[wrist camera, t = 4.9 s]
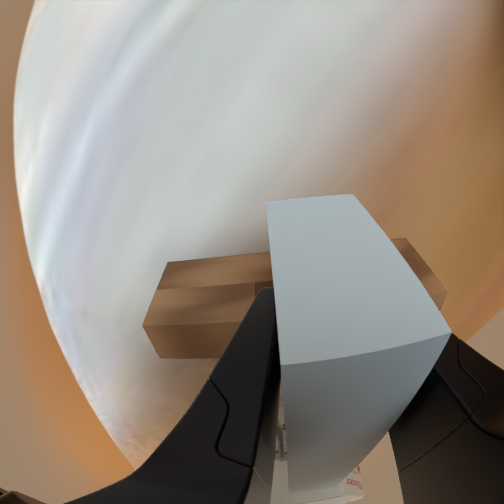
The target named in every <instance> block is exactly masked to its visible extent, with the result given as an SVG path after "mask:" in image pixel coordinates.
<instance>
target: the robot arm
mask: <svg viewBox="0 0 504 504" xmlns="http://www.w3.org/2000/svg"><path fill="white" fill-rule="evenodd" d="M209 379H210V380H209ZM209 379H208V380H207V381H206V383H205V384H204V386H203V388H202V389H201V391H200V393H199V394H198V396H197V397H196V399H195V400H194V402H193V403H192V405H191V406H190V408H189V409H188V410H187V412H186V413H185V414H184V416H183V417H182V418H181V420H180V421H179V422H178V423H177V425H176V426H175V427H174V428H173V430H172V431H171V432H170V433H169V434H168V436H167V437H166V438H165V439H164V440H163V442H162V443H161V444H160V445H159V446H158V447H157V449H156V450H155V451H154V452H153V453H152V454H151V456H150V457H149V458H148V459H147V460H146V461H145V462H144V463H143V464H142V465H141V466H140V467H139V468H138V469H137V470H136V471H135V472H133V473H132V474H131V475H129V476H127V477H126V478H124V479H122V480H120V481H118V482H116V483H114V484H112V485H109V486H107V487H105V488H103V489H100V490H98V491H95V492H93V493H91V494H88V495H86V496H83V497H80V498H78V499H75V500H73V501H70V502H67V503H64V504H270V499H271V496H270V495H271V490H272V481H273V471H274V461H275V450H276V438H277V426H278V413H279V399H280V384H281V365H280V353H279V341H278V329H277V318H276V307H275V296H274V287H264V288H261V289H260V290H259V291H258V293H257V295H256V297H255V298H254V300H253V302H252V304H251V305H250V307H249V309H248V311H247V312H246V314H245V316H244V318H243V319H242V321H241V323H240V325H239V326H238V328H237V330H236V332H235V333H234V335H233V337H232V339H231V340H230V342H229V344H228V346H227V347H226V349H225V351H224V352H223V354H222V356H221V357H220V359H219V361H218V363H217V364H216V366H215V368H214V369H213V371H212V373H211V374H210V376H209ZM389 435H390V439H391V443H392V447H393V451H394V455H395V460H396V465H397V469H398V474H399V480H400V485H401V490H402V495H403V500H404V504H504V370H503V369H501V368H500V367H498V366H497V365H495V364H494V363H492V362H491V361H489V360H488V359H486V358H485V357H483V356H482V355H481V354H479V353H478V352H476V351H475V350H474V349H473V348H471V347H470V346H469V345H467V344H466V343H465V342H463V341H462V340H461V339H459V340H458V337H457V336H456V335H454V334H453V333H451V335H450V337H449V339H448V341H447V343H446V345H445V347H444V348H443V350H442V352H441V354H440V356H439V357H438V359H437V361H436V363H435V364H434V366H433V368H432V369H431V371H430V373H429V374H428V376H427V377H426V379H425V381H424V382H423V384H422V385H421V387H420V388H419V390H418V391H417V393H416V394H415V396H414V397H413V399H412V400H411V401H410V403H409V404H408V406H407V407H406V408H405V410H404V411H403V413H402V414H401V415H400V417H399V418H398V419H397V420H396V422H395V423H394V424H393V426H392V427H391V428H390V429H389ZM0 504H46V503H43V502H41V501H38V500H36V499H34V498H31V497H29V496H27V495H24V494H22V493H19V492H16V491H10V492H8V491H6V490H4V489H2V488H0Z"/></svg>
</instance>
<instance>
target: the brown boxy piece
mask: <svg viewBox="0 0 504 504" xmlns="http://www.w3.org/2000/svg"><path fill="white" fill-rule="evenodd" d="M390 241H391V242H392V243H393V244H394V246H395V247H396V248H397V250H398V251H399V252H400V254H401V255H402V256H403V258H404V259H405V261H406V262H407V263H408V265H409V266H410V268H411V269H412V270H413V272H414V273H415V275H416V276H417V278H418V279H419V280H420V282H421V283H422V285H423V286H424V288H425V289H426V291H427V292H428V294H429V295H430V297H431V298H432V300H433V302H434V303H435V305H436V306H437V308H438V310H439V311H440V309H441V307H442V304H443V302H444V299H445V296H446V294H447V290H446V289H445V288H444V286H443V285H442V284H441V282H440V281H439V280H438V278H437V277H436V276H435V274H434V273H433V272H432V270H431V269H430V268H429V267H428V265H427V264H426V263H425V261H424V260H423V259H422V258H421V256H420V255H419V254H418V253H417V252H416V250H415V249H414V248H413V247H412V246H411V244H410V243H409V242H408V241H407V240H406V238H403V239H394V240H390ZM264 287H274V285H273V275H272V264H271V254H270V252H266V253H256V254H246V255H237V256H227V257H217V258H207V259H197V260H186V261H176V262H168V263H167V265H166V268H165V270H164V272H163V275H162V277H161V280H160V282H159V284H158V287H157V289H156V292H155V294H154V297H153V299H152V302H151V304H150V307H149V310H148V312H147V315H146V317H145V320H144V323H143V325H142V326H143V328H144V330H145V331H146V333H147V335H148V337H149V339H150V341H151V343H152V344H153V346H154V348H155V350H156V352H157V353H158V355H159V357H160V358H220V357H221V356H222V354H223V352H224V351H225V349H226V347H227V346H228V344H229V342H230V340H231V339H232V337H233V335H234V333H235V332H236V330H237V328H238V326H239V325H240V323H241V321H242V319H243V318H244V316H245V314H246V312H247V311H248V309H249V307H250V305H251V304H252V302H253V300H254V298H255V297H256V295H257V293H258V291H259V290H260V289H261V288H264Z"/></svg>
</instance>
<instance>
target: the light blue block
mask: <svg viewBox="0 0 504 504" xmlns="http://www.w3.org/2000/svg"><path fill="white" fill-rule="evenodd" d="M265 206H266V215H267V225H268V234H269V244H270V254H271V264H272V275H273V285H274V296H275V307H276V318H277V329H278V341H279V353H280V365H281V378H282V392H283V406H284V420H285V435H286V451H287V468H288V486H289V493H296V492H305V491H313V490H320V489H327V488H333V487H336V486H337V485H338V484H339V483H340V482H341V481H342V480H343V479H344V478H345V477H346V476H347V475H349V474H350V473H351V472H352V471H353V470H354V469H355V468H356V466H357V465H358V464H359V463H360V462H361V461H362V460H363V459H364V458H365V457H366V456H367V455H368V454H369V453H370V452H371V450H372V449H373V448H374V447H375V446H376V445H377V443H378V442H379V441H380V440H381V439H382V438H383V437H384V435H385V434H386V433H387V432H388V431H389V429H390V428H391V427H392V426H393V424H394V423H395V422H396V420H397V419H398V418H399V417H400V415H401V414H402V413H403V411H404V410H405V408H406V407H407V406H408V404H409V403H410V401H411V400H412V399H413V397H414V396H415V394H416V393H417V391H418V390H419V388H420V387H421V385H422V384H423V382H424V381H425V379H426V377H427V376H428V374H429V373H430V371H431V369H432V368H433V366H434V364H435V363H436V361H437V359H438V357H439V356H440V354H441V352H442V350H443V348H444V347H445V345H446V343H447V341H448V339H449V337H450V335H451V333H452V331H451V329H450V328H449V326H448V324H447V323H446V321H445V319H444V318H443V316H442V314H441V313H440V311H439V310H438V308H437V306H436V305H435V303H434V302H433V300H432V298H431V297H430V295H429V294H428V292H427V291H426V289H425V288H424V286H423V285H422V283H421V282H420V280H419V279H418V278H417V276H416V275H415V273H414V272H413V270H412V269H411V268H410V266H409V265H408V263H407V262H406V261H405V259H404V258H403V256H402V255H401V254H400V252H399V251H398V250H397V248H396V247H395V246H394V244H393V243H392V242H391V241H390V239H389V238H388V237H387V235H386V234H385V233H384V232H383V230H382V229H381V228H380V227H379V225H378V224H377V223H376V222H375V220H374V219H373V218H372V217H371V215H370V214H369V213H368V212H367V211H366V209H365V208H364V207H363V206H362V205H361V204H360V202H359V201H358V200H357V199H356V198H355V197H354V195H353V194H346V195H331V196H318V197H305V198H294V199H283V200H272V201H265Z"/></svg>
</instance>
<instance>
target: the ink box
mask: <svg viewBox="0 0 504 504" xmlns="http://www.w3.org/2000/svg"><path fill="white" fill-rule="evenodd" d="M270 496H271V499H270V504H343V503H347V502H351V501H355V500H358V499H361V498H364V492H363V487H362V481H361V474H360V469H359V464H358V465H357V466H356V468H355V469H354V470H353V471H352V472H351V473H350V474H349V475H347V476H346V477H345V478H344V479H343V480H342V481H341V482H340V483H339V484H338V485H337V486H336V487H333V488H327V489H320V490H313V491H305V492H296V493H289V486H288V468H287V451H286V435H285V420H284V406H283V392H282V378H281V384H280V399H279V413H278V426H277V438H276V450H275V461H274V471H273V481H272V490H271V495H270Z"/></svg>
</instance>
